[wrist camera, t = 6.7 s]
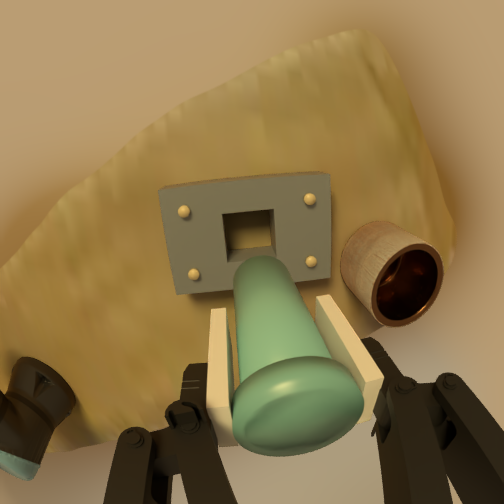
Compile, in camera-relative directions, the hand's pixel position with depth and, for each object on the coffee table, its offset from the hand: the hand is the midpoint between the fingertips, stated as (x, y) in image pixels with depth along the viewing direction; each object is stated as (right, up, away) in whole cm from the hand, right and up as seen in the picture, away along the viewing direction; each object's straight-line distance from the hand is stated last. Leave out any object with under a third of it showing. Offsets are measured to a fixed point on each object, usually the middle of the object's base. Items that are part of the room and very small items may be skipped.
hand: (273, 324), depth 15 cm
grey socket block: (-2, +7, +19) cm, 20 cm away
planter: (+16, +3, +22) cm, 27 cm away
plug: (0, +2, +5) cm, 5 cm away
